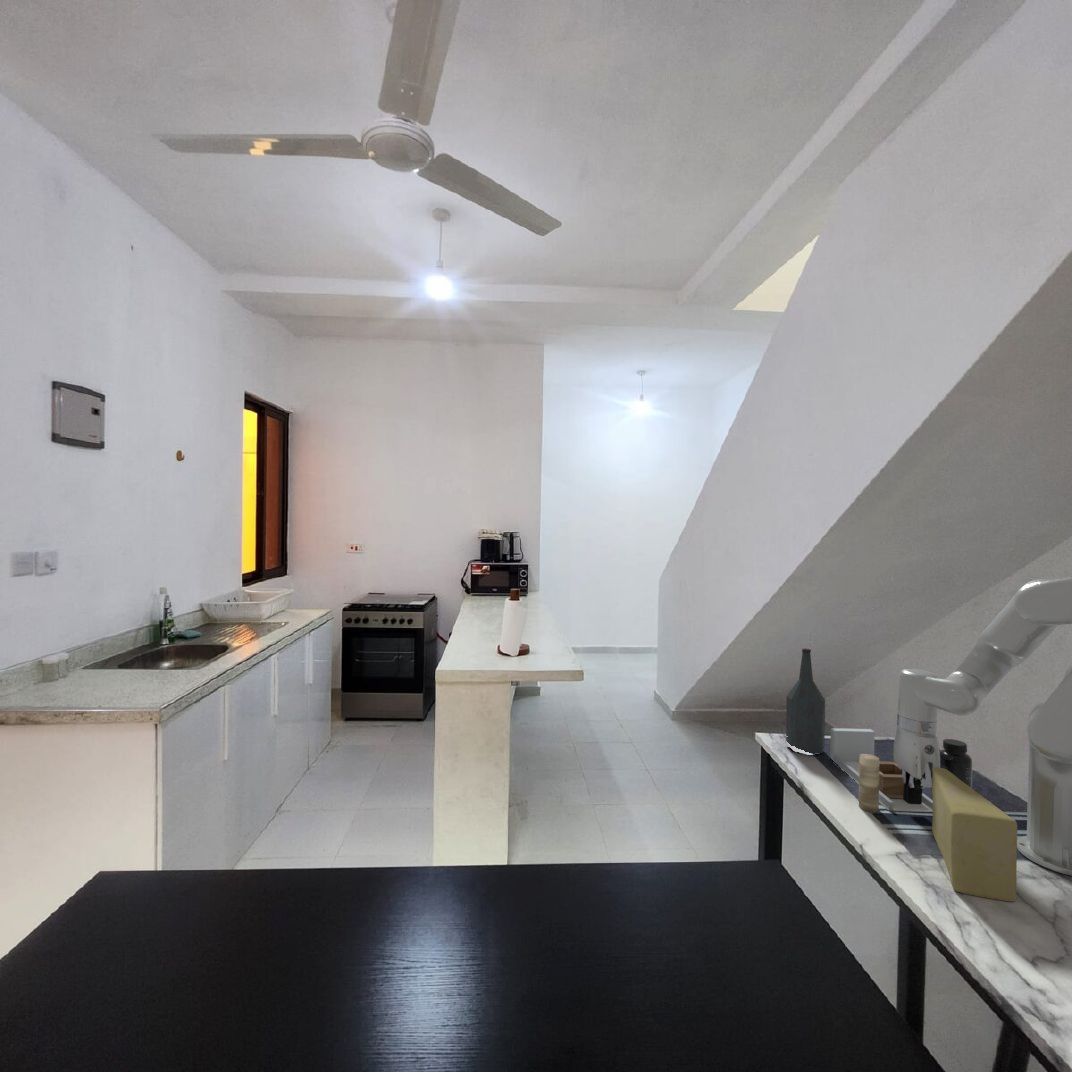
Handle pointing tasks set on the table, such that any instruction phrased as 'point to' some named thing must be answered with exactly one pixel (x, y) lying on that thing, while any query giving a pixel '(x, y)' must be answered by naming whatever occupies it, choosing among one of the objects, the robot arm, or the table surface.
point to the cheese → (974, 839)
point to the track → (846, 755)
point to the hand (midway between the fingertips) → (912, 802)
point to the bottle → (806, 711)
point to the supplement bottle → (956, 760)
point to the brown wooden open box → (890, 780)
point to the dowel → (869, 782)
